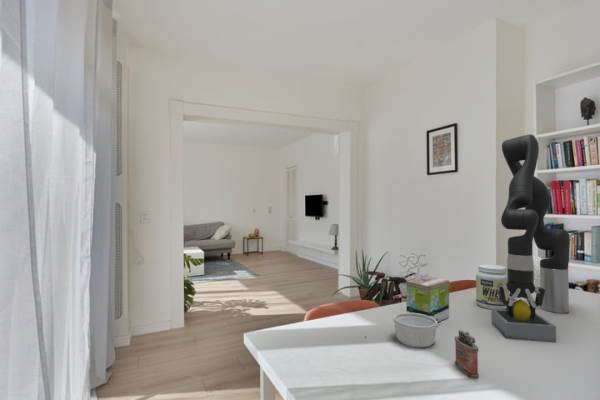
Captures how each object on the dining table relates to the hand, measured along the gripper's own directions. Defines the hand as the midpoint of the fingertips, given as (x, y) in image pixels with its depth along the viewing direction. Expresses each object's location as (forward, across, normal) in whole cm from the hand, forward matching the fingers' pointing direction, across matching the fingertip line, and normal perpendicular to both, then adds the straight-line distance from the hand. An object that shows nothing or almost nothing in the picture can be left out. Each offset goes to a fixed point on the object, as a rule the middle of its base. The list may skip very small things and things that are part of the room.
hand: (520, 316), depth 112 cm
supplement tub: (+5, 0, -29) cm, 29 cm away
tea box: (+5, +29, -7) cm, 30 cm away
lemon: (+2, 0, 0) cm, 2 cm away
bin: (+5, 0, 0) cm, 5 cm away
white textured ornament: (+5, -26, -60) cm, 65 cm away
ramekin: (+5, +36, +15) cm, 39 cm away
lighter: (+5, +25, +32) cm, 41 cm away
